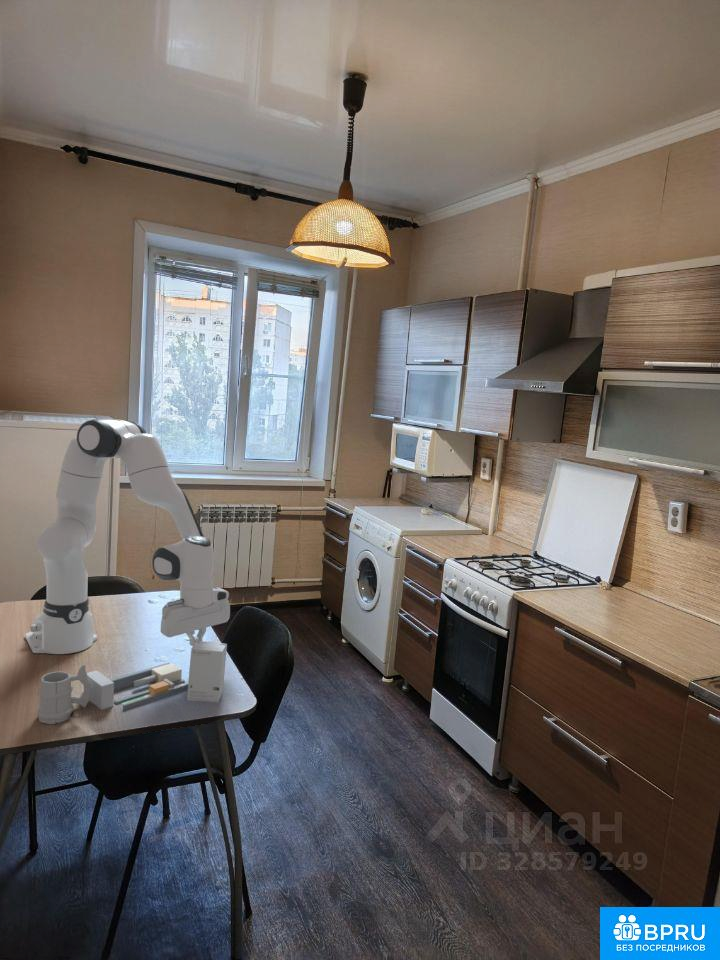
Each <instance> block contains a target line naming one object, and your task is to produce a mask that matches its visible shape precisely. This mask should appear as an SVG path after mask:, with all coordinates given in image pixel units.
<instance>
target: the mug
mask: <svg viewBox="0 0 720 960" xmlns="http://www.w3.org/2000/svg"><path fill="white" fill-rule="evenodd" d="M87 673H88V672H87V670H86V664H85V663H82V664H81V666H80V667H79V669H78V671H77V674H73V675H71V674H70V673H69V672H67V671H60V670H58V671H52V672H48V673H46V674H43V676H41V678H40V686H39V687H40V688H38V689H39V690H38V693H37V694H38V695H39V701H38V703H39V706H38V708H37V710H36V714H37V717H38V721H39V723H43V724H48V725H55V724H60V723H63V722H66V721H67V720H69V719H70V718H71V717H72V712H73V711H74V705H73V704H76V705H80V706H81V707H82V708H86V707H87V705H88V703H90V702H91V701H90V699H91V692H92V686H91V683H90V680H89V678H88V675H87ZM74 681H79V682H80V683H81V684H82V685H83V692H82V693H81V695H80V696H78V695H72V691H73V690H74V688H73V685H72V682H74Z"/></svg>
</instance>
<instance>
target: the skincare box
mask: <svg viewBox="0 0 720 960" xmlns="http://www.w3.org/2000/svg"><path fill="white" fill-rule="evenodd" d="M190 649H191V650H190V659H189V660H190V661H189V673H188V683H187V684H188V689H187V695H186V701H196V702H197V701H199V702H208V703H209V702H210V703H211V702H212V703H219V702H220V700H221V697H222V696H223V693H224V682H225V673H226V672H225V671H226V661H227V660H226V659H227V649H228V644H227V643H221V642H214V641H203V640H202V641H196V642H195V644H194V645H193V646H192V647H191V648H190Z"/></svg>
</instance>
